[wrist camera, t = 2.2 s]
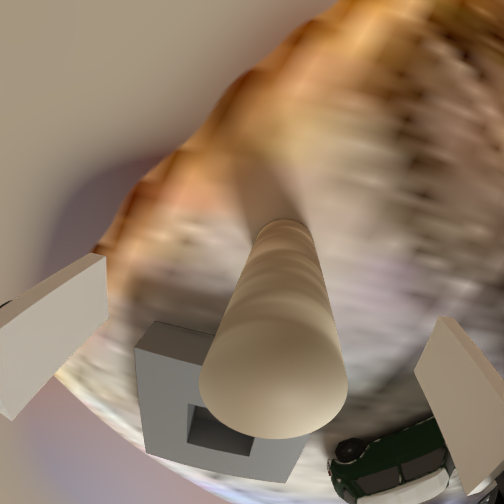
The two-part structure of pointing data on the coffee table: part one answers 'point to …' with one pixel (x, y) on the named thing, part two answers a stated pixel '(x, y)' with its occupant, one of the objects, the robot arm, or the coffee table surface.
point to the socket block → (198, 412)
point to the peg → (276, 343)
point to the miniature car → (393, 467)
